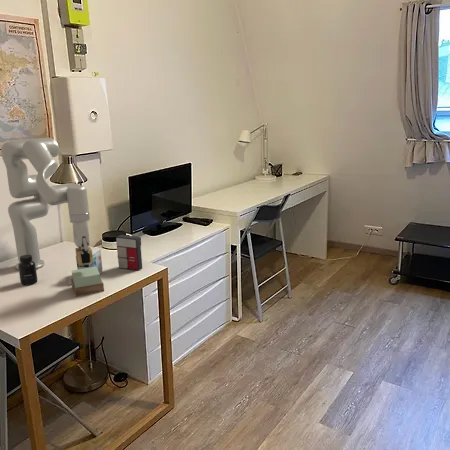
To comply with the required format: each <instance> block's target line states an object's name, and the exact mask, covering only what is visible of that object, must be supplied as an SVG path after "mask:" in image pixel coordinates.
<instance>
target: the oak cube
mask: <svg viewBox="0 0 450 450" xmlns="http://www.w3.org/2000/svg"><path fill="white" fill-rule="evenodd" d="M83 249H84V248H83ZM88 249H89V253H90V263H93V256H92V249H93V248H91V247H90V245H89V246H88ZM81 254H82V252H81V248H78V247H75V259H76V258H77V262H78V264H79V265H84V264H90V263H84V264H83V263H82V259H81ZM77 262H76V263H77Z"/></svg>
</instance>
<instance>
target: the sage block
mask: <svg viewBox="0 0 450 450" xmlns="http://www.w3.org/2000/svg"><path fill="white" fill-rule="evenodd" d="M71 277H72V279H73V282H74V286H75V288H78V287H84V286H90V285H95V284H101V280H102V278H101V274H100V273H99V271H98V269H97V267H96V266H95V267H89V268H83V269H74V270H73V269H72V270H71ZM100 278H101V279H100Z"/></svg>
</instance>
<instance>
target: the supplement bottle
mask: <svg viewBox="0 0 450 450" xmlns="http://www.w3.org/2000/svg"><path fill="white" fill-rule="evenodd" d="M32 260H33V259H32V255H23V256H21V257H20V263H19V262H18V263H19V265H18V268H19V270H18V275H19V282H20V285H22V286H32V285H36V284H37V283H38V274H37V269H36V264H35V262H34V261H32Z"/></svg>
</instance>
